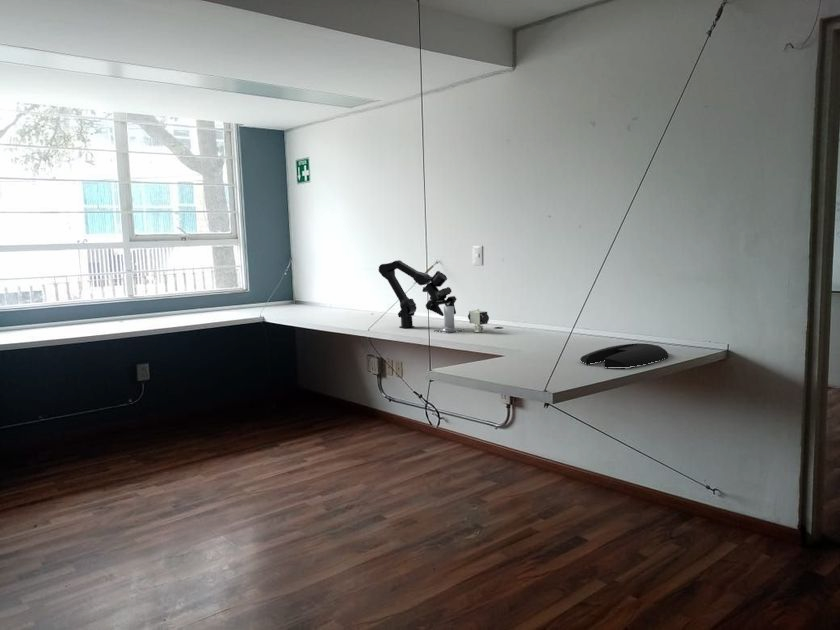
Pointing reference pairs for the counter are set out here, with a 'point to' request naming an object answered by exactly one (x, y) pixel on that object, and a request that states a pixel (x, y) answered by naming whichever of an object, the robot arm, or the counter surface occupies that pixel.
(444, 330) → the flange plate
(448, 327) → the grey cylinder
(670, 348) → the counter surface
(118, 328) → the counter surface
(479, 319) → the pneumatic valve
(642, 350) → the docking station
